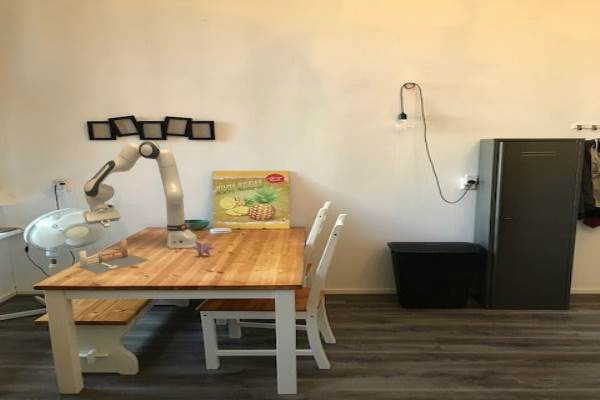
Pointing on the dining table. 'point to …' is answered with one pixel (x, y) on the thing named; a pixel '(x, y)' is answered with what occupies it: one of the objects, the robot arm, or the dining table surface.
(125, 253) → the hinged fence section
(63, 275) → the dining table surface
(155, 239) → the dining table surface
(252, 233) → the dining table surface
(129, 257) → the board
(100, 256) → the fixed fence section
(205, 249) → the lily
